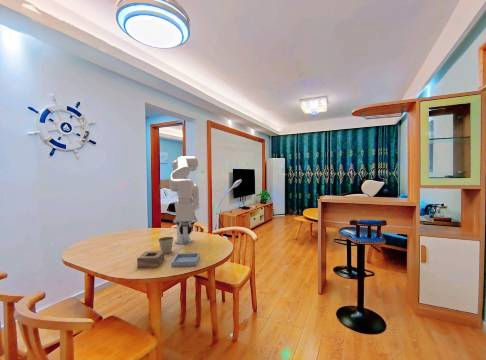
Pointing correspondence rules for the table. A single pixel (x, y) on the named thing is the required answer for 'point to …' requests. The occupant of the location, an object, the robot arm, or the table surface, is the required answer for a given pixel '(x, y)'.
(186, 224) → the pin
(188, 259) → the tray
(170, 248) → the flower pot
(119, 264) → the table surface
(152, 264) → the socket block
